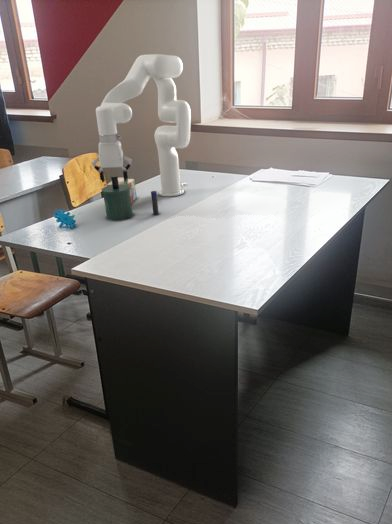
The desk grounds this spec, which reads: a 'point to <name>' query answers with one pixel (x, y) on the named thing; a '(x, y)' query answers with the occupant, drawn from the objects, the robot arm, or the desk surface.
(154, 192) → the cylinder
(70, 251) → the desk surface
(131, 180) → the stack of blocks
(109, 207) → the green hollow cylinder
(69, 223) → the gear
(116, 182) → the lid
